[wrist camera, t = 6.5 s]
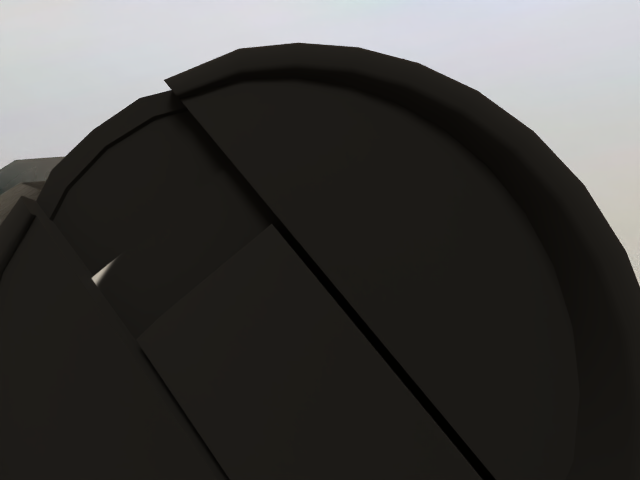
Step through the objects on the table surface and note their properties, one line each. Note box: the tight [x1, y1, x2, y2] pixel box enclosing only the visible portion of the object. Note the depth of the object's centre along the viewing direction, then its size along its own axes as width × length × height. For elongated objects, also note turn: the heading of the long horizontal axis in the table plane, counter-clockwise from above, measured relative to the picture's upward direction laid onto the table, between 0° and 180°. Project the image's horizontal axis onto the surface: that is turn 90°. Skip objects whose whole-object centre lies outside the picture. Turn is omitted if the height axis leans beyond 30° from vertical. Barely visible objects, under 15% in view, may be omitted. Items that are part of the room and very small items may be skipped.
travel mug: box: [0, 43, 640, 480], centre depth 13 cm, size 6×7×20 cm
